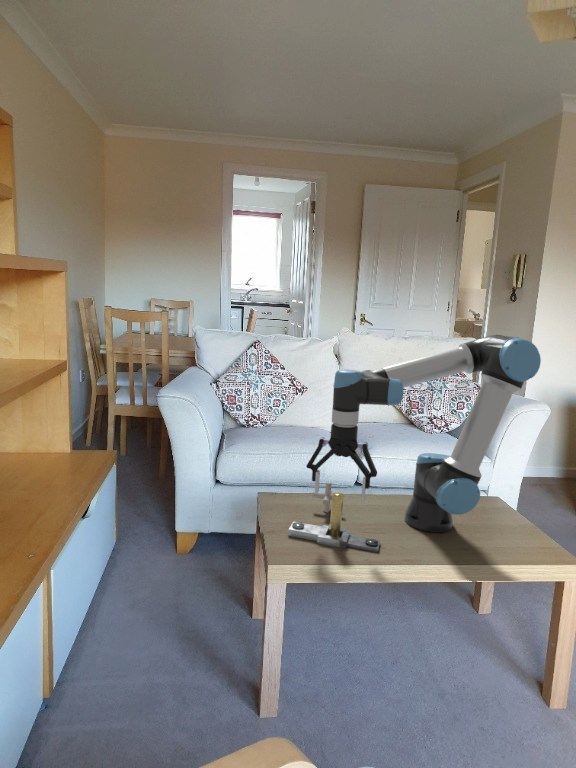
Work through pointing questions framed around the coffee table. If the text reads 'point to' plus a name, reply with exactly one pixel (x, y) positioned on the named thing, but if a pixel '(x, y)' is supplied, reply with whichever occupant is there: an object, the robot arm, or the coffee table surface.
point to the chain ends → (332, 537)
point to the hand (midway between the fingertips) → (339, 495)
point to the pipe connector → (325, 496)
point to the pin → (336, 514)
